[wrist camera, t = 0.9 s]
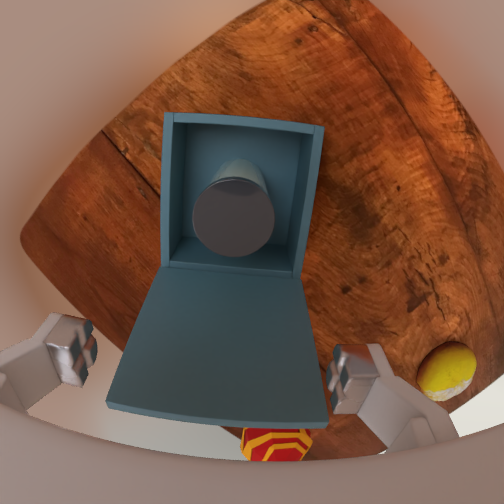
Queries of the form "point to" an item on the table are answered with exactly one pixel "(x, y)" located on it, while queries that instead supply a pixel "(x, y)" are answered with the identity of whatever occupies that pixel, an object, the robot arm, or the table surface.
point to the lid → (222, 353)
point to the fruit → (446, 371)
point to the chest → (276, 177)
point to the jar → (234, 210)
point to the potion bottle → (275, 444)
